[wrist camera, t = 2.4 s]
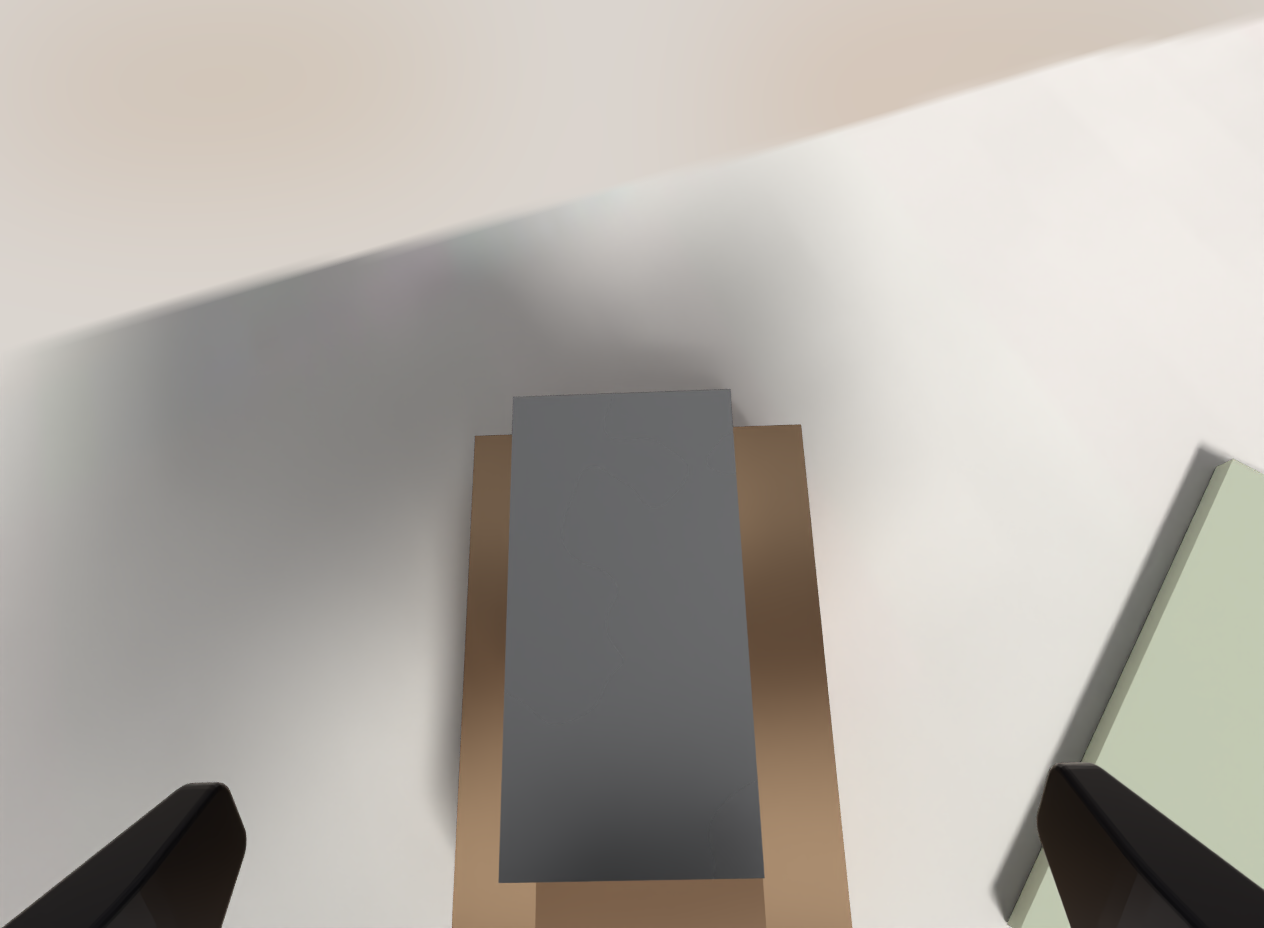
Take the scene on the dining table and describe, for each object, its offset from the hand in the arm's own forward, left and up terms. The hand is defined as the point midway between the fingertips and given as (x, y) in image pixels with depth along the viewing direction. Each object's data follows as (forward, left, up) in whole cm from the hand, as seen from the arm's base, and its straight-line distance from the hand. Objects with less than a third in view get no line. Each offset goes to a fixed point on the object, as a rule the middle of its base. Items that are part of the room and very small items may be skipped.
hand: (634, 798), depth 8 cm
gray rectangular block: (+2, +1, -9) cm, 9 cm away
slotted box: (+2, +1, -9) cm, 10 cm away
